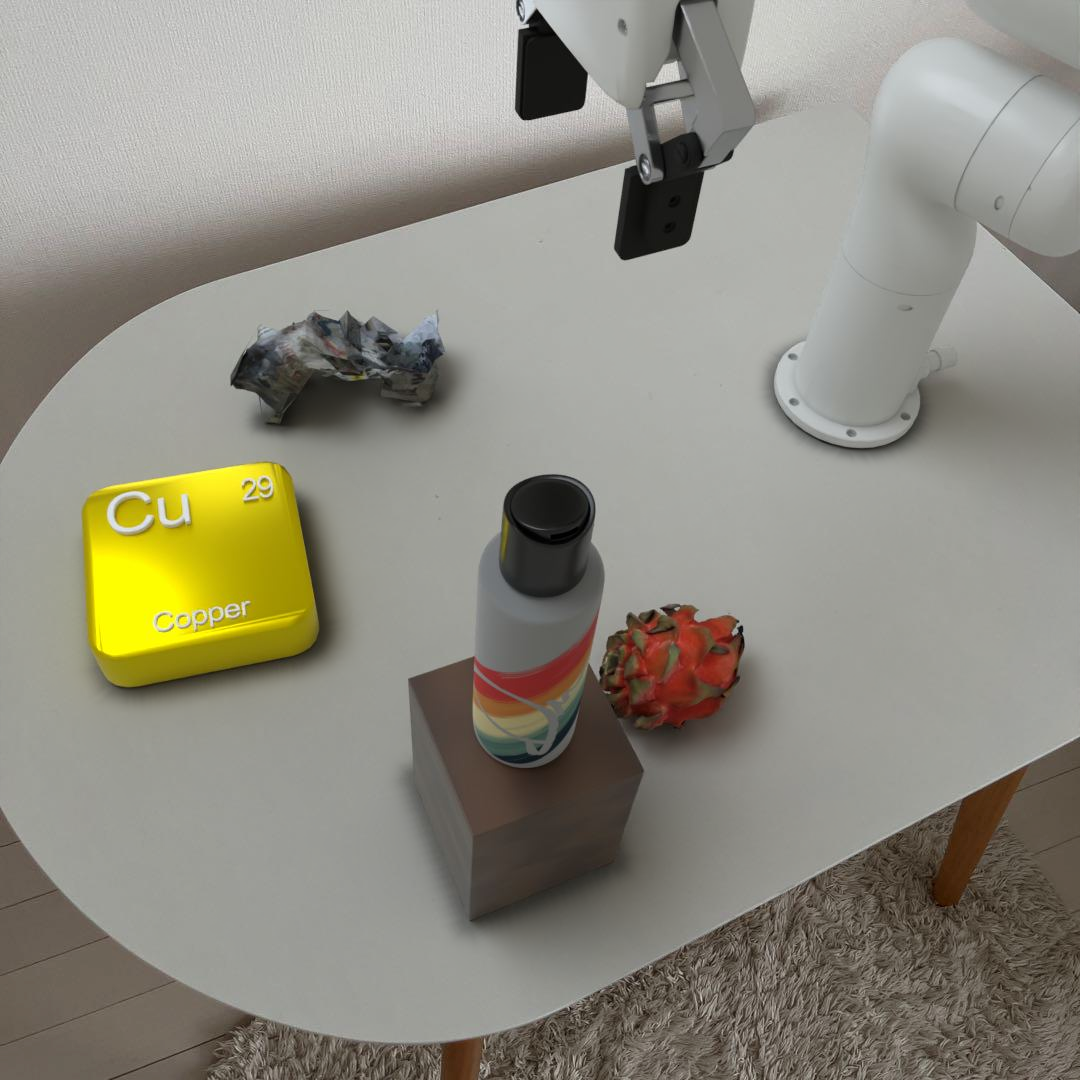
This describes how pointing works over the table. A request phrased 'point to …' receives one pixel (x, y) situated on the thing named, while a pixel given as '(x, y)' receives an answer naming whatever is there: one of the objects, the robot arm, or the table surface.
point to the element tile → (196, 574)
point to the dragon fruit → (671, 666)
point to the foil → (339, 358)
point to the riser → (518, 794)
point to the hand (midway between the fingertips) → (597, 176)
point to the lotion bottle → (536, 620)
